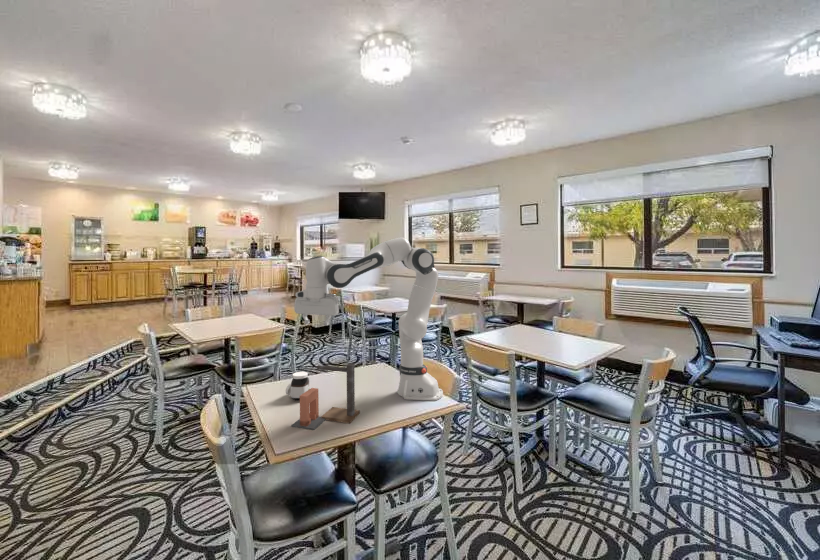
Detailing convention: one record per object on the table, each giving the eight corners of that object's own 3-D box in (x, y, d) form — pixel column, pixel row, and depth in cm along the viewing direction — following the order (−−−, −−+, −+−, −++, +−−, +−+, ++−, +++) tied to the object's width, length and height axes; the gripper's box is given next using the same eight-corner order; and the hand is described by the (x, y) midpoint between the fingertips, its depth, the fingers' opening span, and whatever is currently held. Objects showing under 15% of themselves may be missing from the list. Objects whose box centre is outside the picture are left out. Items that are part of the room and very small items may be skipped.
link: (318, 416, 149) (318, 388, 148) (306, 426, 140) (306, 396, 140) (312, 415, 150) (311, 387, 149) (300, 425, 141) (299, 395, 140)
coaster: (326, 418, 149) (326, 417, 149) (313, 429, 139) (313, 428, 139) (305, 415, 151) (305, 414, 151) (291, 426, 142) (291, 425, 142)
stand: (360, 413, 154) (359, 361, 153) (350, 423, 145) (349, 368, 143) (324, 408, 159) (323, 358, 158) (312, 418, 149) (311, 365, 148)
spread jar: (305, 402, 166) (305, 377, 165) (280, 402, 166) (280, 377, 165) (312, 392, 178) (312, 369, 177) (289, 392, 178) (289, 369, 177)
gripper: (341, 293, 158) (341, 324, 159) (300, 291, 164) (300, 322, 164) (334, 294, 152) (334, 327, 153) (292, 293, 157) (292, 324, 158)
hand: (316, 324), depth 159 cm, fingers open, 8 cm apart
